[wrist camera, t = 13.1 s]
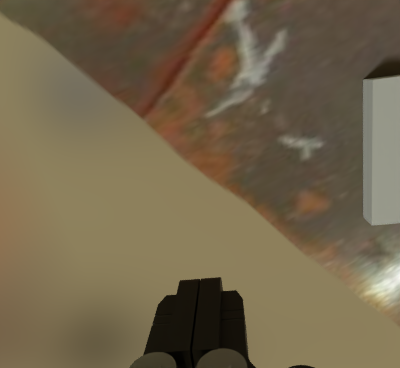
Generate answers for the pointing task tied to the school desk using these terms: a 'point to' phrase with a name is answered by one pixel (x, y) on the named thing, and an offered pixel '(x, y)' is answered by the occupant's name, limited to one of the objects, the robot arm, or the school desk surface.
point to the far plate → (381, 150)
